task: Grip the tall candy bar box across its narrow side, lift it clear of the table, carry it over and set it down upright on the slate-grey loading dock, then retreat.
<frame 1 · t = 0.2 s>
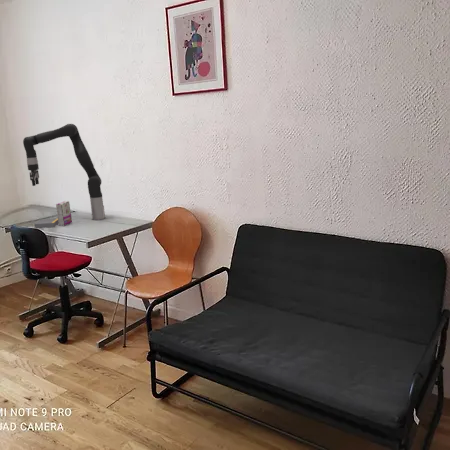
hand: (35, 184, 352), 29 cm above the table, fingers open, 8 cm apart
candy bar box: (65, 224, 348), on the table
loading dock: (47, 224, 347), on the table
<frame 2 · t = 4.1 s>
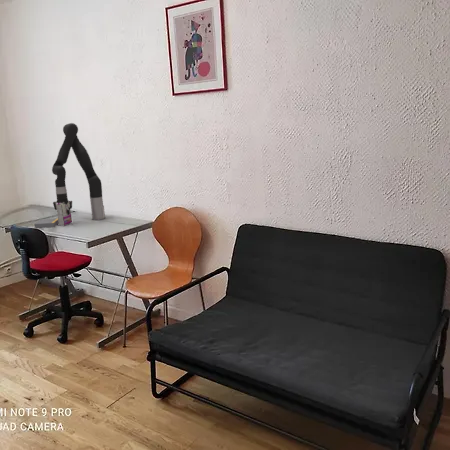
hand: (64, 214, 346), 7 cm above the table, fingers closed on candy bar box, 5 cm apart
candy bar box: (65, 224, 348), on the table, touching gripper
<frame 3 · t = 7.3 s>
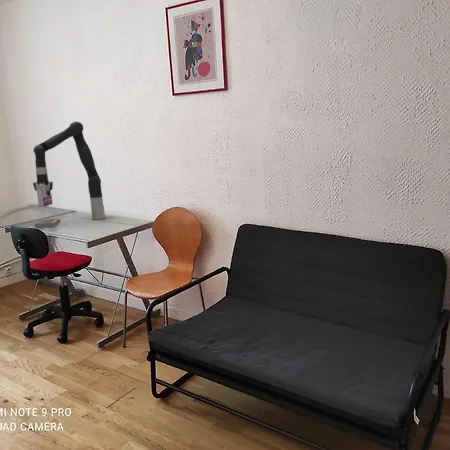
hand: (44, 195, 342), 22 cm above the table, fingers closed on candy bar box, 5 cm apart
candy bar box: (45, 205, 343), point 15 cm above the table, touching gripper
when the fingers open (11 cm above the table, at t = 10.3 s): candy bar box stays where it is, resting on loading dock.
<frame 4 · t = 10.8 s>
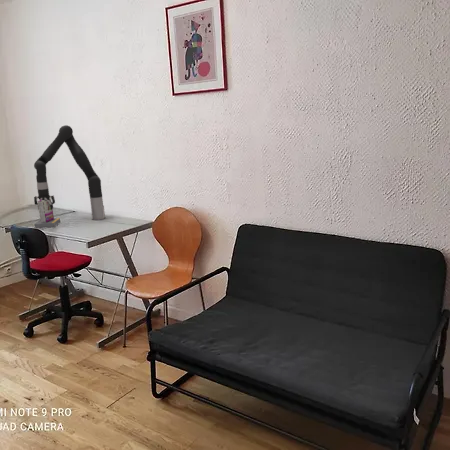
hand: (45, 209, 344), 12 cm above the table, fingers open, 8 cm apart
candy bar box: (47, 221, 346), point 3 cm above the table, touching loading dock
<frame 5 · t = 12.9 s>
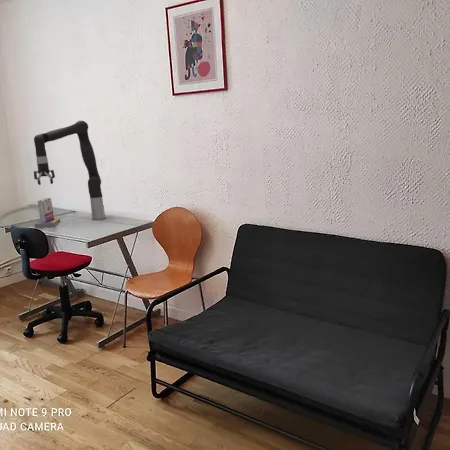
hand: (45, 184, 343), 30 cm above the table, fingers open, 8 cm apart
nothing on the table moved.
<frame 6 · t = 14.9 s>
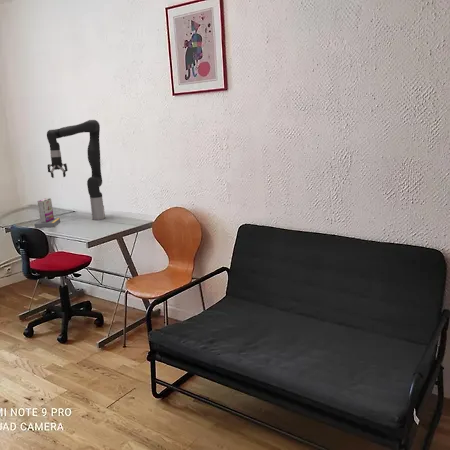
hand: (58, 177, 357), 33 cm above the table, fingers open, 8 cm apart
nothing on the table moved.
at the end: candy bar box inside the target area on the loading dock (0.0 cm from its centre), point 2.8 cm above the loading dock's base; candy bar box tilted 0°; the gripper is holding nothing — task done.
